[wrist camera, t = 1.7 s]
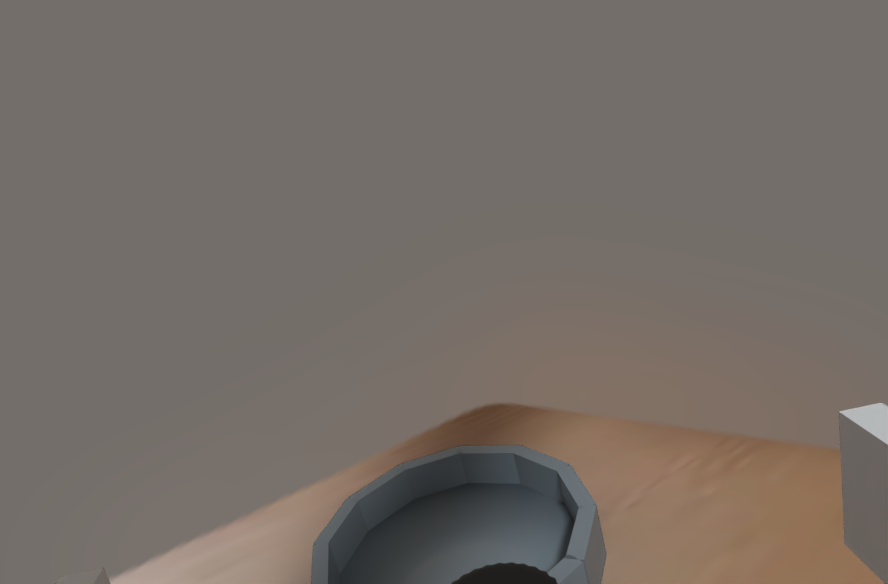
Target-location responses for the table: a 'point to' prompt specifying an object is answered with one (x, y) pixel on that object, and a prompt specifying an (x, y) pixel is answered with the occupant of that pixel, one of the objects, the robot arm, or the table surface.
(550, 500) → the bowl
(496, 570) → the supplement bottle
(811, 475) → the table surface
